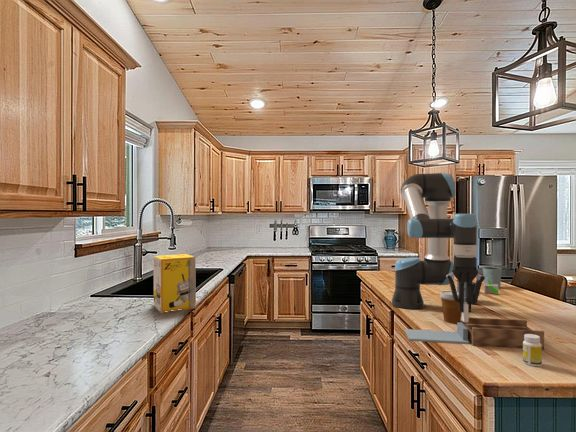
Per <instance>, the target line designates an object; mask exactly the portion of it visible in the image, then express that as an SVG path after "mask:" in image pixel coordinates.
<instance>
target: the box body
mask: <svg viewBox="0 0 576 432" xmlns="http://www.w3.org/2000/svg"><path fill="white" fill-rule="evenodd" d="M461 323H462V324H463V325H464V326H465V327H466V328H467V329H468V341H469V344H471V345H472V346H474V347H489V348H490V347H491V348H506V349H520V350H521V349H522V350H523V341H524V335H525V334H534V335H538V336H539V337H540V343H541V345H542V351H543V350H544V351H545V331H544V330H533V329H531V328H530V327H529V326H528V320H527V319H512V318H511V319H510V318H489V317H488V318H487V317H469V316H468V322H463V321H462V320H461Z"/></svg>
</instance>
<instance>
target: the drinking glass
mask: <svg viewBox="0 0 576 432" xmlns="http://www.w3.org/2000/svg"><path fill="white" fill-rule="evenodd" d="M502 269H503V268H502V267H497V266H495V267H494V266H484V267H482V274H483V275H482V276H484V277H485V279H484V281H483V284H484V283H486V284H488V281H491V284H498V290H499V289H501V281H502V271H503V270H502Z"/></svg>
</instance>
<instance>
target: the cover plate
mask: <svg viewBox="0 0 576 432" xmlns="http://www.w3.org/2000/svg"><path fill="white" fill-rule="evenodd" d="M404 330H405V334H406V337H407V339H408V341H411V342H425V343H426V342H427V343H442V344H462V345H463V344H464V345H469V344H470V342H469V340H468V329H467V328H466V327H465V326H464V325H463V324H462V321H461V322H457V325H456V330H457V331H451V330H449V331H448V330H429V329H426V330H425V329H413V328H412V329H411V328H409V329H408V328H406V329H404Z"/></svg>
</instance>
